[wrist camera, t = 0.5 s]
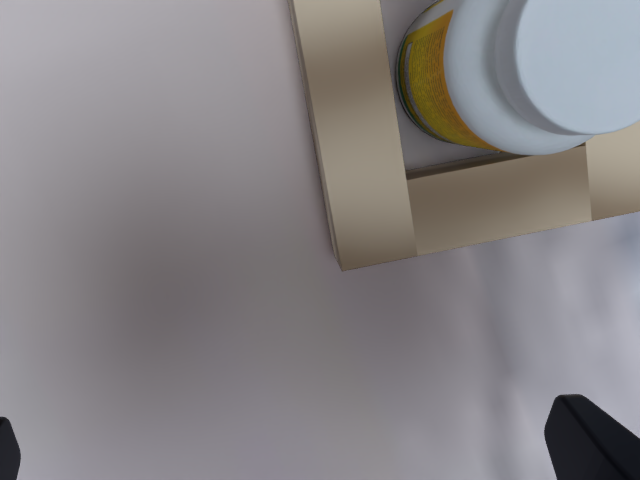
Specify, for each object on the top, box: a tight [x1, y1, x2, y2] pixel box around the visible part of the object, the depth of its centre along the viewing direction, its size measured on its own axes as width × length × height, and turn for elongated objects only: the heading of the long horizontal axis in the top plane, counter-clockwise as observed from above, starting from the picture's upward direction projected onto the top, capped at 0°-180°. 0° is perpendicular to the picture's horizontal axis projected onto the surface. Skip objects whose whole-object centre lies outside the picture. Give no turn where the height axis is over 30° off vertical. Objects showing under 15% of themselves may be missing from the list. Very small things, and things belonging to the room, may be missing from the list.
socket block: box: [288, 0, 640, 271], centre depth 21 cm, size 12×12×2 cm
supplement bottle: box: [396, 0, 640, 155], centre depth 17 cm, size 5×5×10 cm
